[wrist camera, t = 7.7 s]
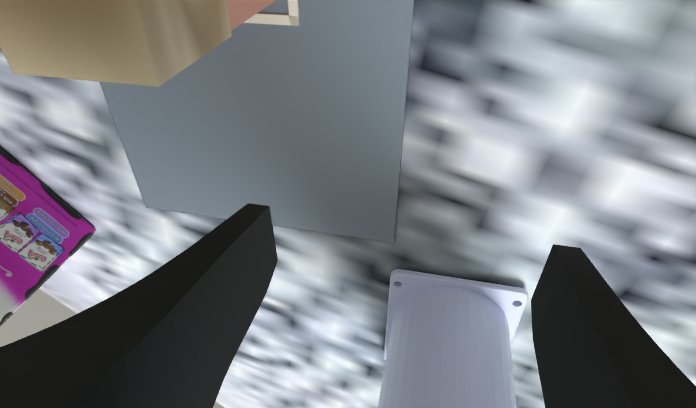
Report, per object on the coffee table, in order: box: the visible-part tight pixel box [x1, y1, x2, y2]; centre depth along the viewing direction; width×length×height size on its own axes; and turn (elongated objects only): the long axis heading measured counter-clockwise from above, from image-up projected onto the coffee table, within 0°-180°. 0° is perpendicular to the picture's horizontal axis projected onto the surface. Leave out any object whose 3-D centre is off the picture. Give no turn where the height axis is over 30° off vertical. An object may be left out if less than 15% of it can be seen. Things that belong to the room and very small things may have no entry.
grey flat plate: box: [100, 0, 414, 243], centre depth 20 cm, size 20×16×1 cm
